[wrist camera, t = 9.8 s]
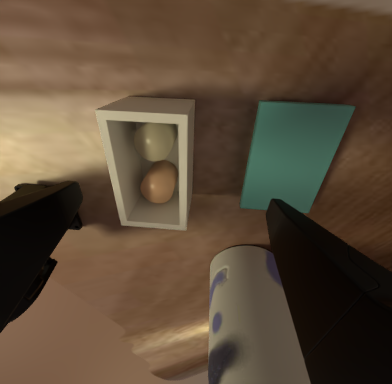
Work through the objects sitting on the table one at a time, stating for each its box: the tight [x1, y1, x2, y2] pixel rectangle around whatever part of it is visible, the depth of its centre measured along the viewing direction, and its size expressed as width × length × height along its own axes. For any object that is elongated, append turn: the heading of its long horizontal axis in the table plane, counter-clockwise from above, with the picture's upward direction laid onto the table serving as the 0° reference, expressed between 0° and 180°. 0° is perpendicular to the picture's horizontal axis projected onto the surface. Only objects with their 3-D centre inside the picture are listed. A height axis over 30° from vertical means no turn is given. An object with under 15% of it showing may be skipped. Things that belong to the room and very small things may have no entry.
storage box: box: [95, 96, 195, 230], centre depth 18 cm, size 10×6×6 cm, turn 178°
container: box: [208, 246, 311, 384], centre depth 21 cm, size 10×10×20 cm
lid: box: [240, 100, 355, 213], centre depth 19 cm, size 11×7×2 cm
